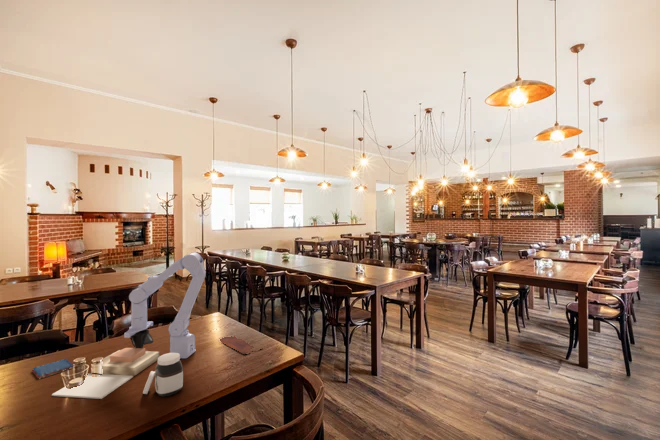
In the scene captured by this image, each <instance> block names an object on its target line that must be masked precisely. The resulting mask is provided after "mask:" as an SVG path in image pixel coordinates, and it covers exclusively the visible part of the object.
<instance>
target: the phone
mask: <svg viewBox="0 0 660 440" xmlns="http://www.w3.org/2000/svg"><path fill="white" fill-rule="evenodd" d="M130 340H131V342H132V344H133V346H134V347H135V343H134V341H133V339H132V338H131V337H130ZM151 343H154V339H153V336H152V335H151V333H150V332H149V333H148V334H147V336H146V338H145V342H144V345H147V344H151Z"/></svg>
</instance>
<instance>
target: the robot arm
mask: <svg viewBox="0 0 660 440" xmlns="http://www.w3.org/2000/svg"><path fill="white" fill-rule="evenodd" d="M184 269H185V270H186V271H188V272H189V273H190V276H191V277H192V279H191V280H190V282H189V285H188V288H187V291H186V293H185V295H184V298H183V300H182V303H181V305H180V306H179V310H178V312H177V314H176V316H175V317H174V319H173V321H172V322H171V323H170V324H169V326H168V333H169V344H170V345H169V353H179V354H180V359H187V358H189V357H190V356H191V355H193V354H194V353H195V352H196V351H197V350H196V336H195V334H193V333H190V332H189V331H190V330H189V329H188V327H189V325H190V317H191V315H192V314H191V312H192V310H193V307H194V305H195V302H196V300H197V298H198V296H199V293H200V290H201V288H202V285H203V283H204V281H205V278H206V274H207V273H206V269H205V263H204V259H203V257H202V256H201V254H200V253H198V252H196V251H195V252H191V253H188V254H186V255H184V256H183V257H181V258H179V259H177V260H176V261H174V262H173V263H172V264H171V265H169V266H168V267H167V268H166V269H164V270H163V271H162V272H161V273H160V274H159V275H157V274H156V275H152V276H151V275H150V276H148V277H147V279H146V281H144V282H143V283H142V284H138V286H137V287H138V288H135V289H132V291H131V292H130V293H129V295H128V299H129V301H130V302H131V305H130V306H131V310H130V311H131V313H130V314H131V317H130V318H131V321H130V322H131V324H130V325H131V326H129V327H128V328H129V329H128V330H127V331H126V332H124V337H123V338H124V339H131V338H132V339H133V341H134V343H135V346H134V348H144V345H145V343H144V342H145V338H146V336H147V334H148V333H149V334H150V330H149V329H148V328H150V327H153V326H154V321H152V320H151V321H150V320H149V321H148V298H149V297H150V296H151V295H153V294H154V293H155V292H156V291H158V290H159V289H160V288H162V286H163V285H164V281H166V279H168V278H169V277H171V276H172V275H174V274H175V273H176V272H177V271H181V270H184ZM132 339H131V340H132Z"/></svg>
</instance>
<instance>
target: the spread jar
mask: <svg viewBox="0 0 660 440" xmlns="http://www.w3.org/2000/svg"><path fill="white" fill-rule="evenodd" d="M180 359H181V358H180V354H179V353H170V352H168V353H164V354H162V355H159V357H158V360H157V364H156V365H155V369H154V371H153V370H151V371H150V372H149V375H148V378H147V380H146V383H145V385H144V388H143V390H142V394H144V395H148V393H149V391H150V387H151V385H152V383H153V381H154V387H155V392H156V394H157V395H158V396H160V397H170V396H172V395H175V394H177V393H178V392H179V391H181V390H182V389H183V385H184V370H183V364H182V361H181V360H180Z"/></svg>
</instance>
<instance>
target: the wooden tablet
mask: <svg viewBox="0 0 660 440" xmlns="http://www.w3.org/2000/svg"><path fill="white" fill-rule="evenodd" d="M235 336H236V335H234V337H232V336H231V337H225V336H223V337H224V338H223V337H221V338H222V339H220V338H219V339H220V341H221V342H222V343H224V344H226V345H225V346H227V347H229V348H231V349H232V348H233V349H232V350H234V349H235V350H234V351H236V350H237V351H236V352H238V351H239V352H241V353H243V354H246V353H248V352H249V350H250V349H252V348H254V347H253V346H250V345H249V344H248V343H246V342H245V341H244V340H242V339H243V338H242V339H237V338H236V337H235ZM222 343H221V344H222ZM224 344H223V345H224ZM239 352H238V353H239ZM241 353H240V354H241ZM243 354H242V355H243Z"/></svg>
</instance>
